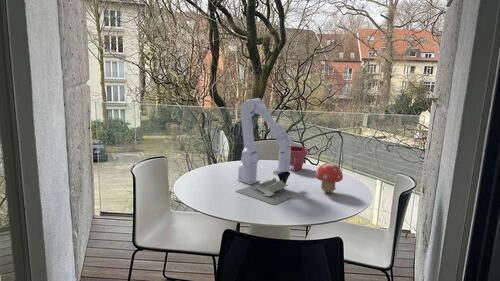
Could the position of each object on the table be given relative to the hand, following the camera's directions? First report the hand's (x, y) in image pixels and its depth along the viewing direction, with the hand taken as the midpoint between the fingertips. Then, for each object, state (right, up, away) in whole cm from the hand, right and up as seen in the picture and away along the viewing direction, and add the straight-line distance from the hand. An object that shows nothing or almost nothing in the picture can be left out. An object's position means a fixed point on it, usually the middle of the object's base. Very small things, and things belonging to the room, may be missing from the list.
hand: (282, 185), depth 190 cm
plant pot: (+10, +6, +36) cm, 38 cm away
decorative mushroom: (+22, -3, -3) cm, 22 cm away
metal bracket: (-6, -2, -5) cm, 8 cm away
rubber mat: (-10, -3, -10) cm, 15 cm away
